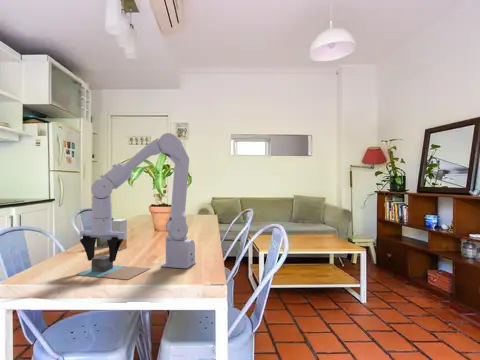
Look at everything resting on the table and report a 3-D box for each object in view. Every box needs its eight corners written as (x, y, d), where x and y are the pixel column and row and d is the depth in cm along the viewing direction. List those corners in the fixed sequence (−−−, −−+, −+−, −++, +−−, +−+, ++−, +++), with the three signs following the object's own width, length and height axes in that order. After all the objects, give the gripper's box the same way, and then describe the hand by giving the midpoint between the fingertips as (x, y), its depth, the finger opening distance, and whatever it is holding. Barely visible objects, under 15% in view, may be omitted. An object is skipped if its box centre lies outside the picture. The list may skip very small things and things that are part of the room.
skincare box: (119, 250, 133) (119, 221, 132) (109, 250, 133) (109, 220, 133) (127, 247, 138) (127, 219, 138) (118, 247, 139) (118, 218, 139)
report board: (149, 269, 106) (149, 268, 106) (127, 280, 95) (127, 279, 95) (102, 264, 111) (102, 264, 111) (75, 274, 100) (75, 274, 100)
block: (112, 268, 106) (112, 255, 106) (104, 272, 102) (104, 259, 102) (100, 267, 107) (100, 255, 107) (91, 271, 103) (91, 258, 103)
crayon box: (98, 247, 139) (98, 219, 139) (96, 246, 141) (96, 219, 141) (115, 245, 143) (116, 218, 143) (113, 244, 146) (113, 217, 146)
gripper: (129, 216, 107) (129, 258, 107) (89, 215, 109) (89, 256, 110) (117, 219, 100) (117, 264, 100) (75, 218, 103) (74, 261, 103)
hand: (101, 260), depth 104 cm, fingers open, 7 cm apart
